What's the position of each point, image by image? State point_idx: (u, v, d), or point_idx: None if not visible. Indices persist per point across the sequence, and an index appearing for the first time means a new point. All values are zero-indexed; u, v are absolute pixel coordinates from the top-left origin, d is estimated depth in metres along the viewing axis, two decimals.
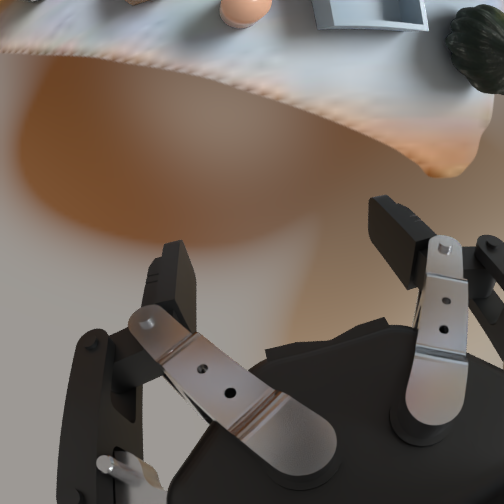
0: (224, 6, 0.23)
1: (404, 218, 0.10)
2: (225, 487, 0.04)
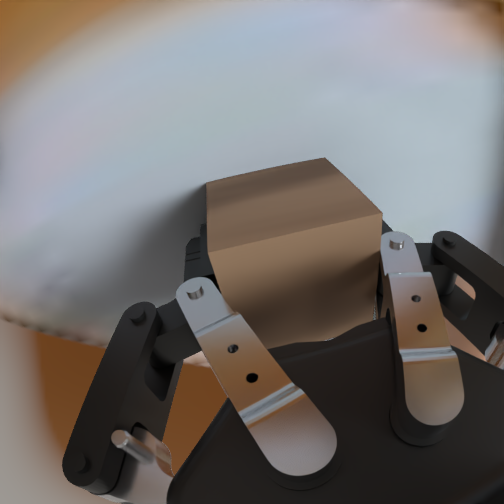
0: None
1: None
2: (225, 487, 0.04)
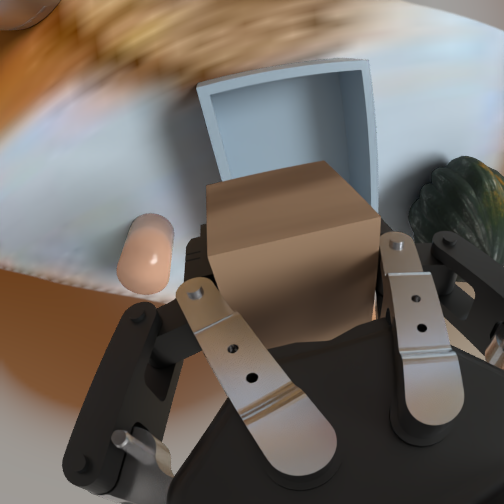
0: (122, 282, 0.27)
1: None
2: (225, 487, 0.04)
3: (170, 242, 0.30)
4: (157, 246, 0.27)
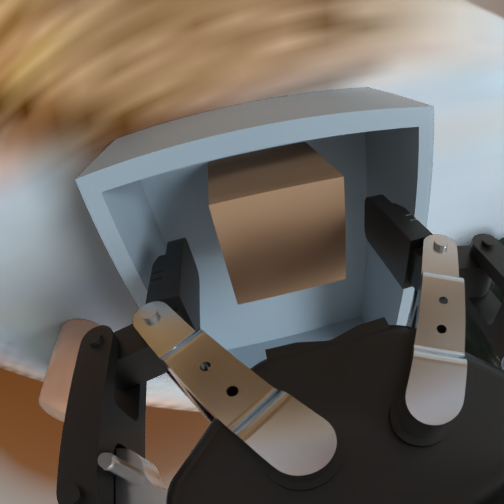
0: (51, 414, 0.17)
1: (399, 217, 0.10)
2: (225, 487, 0.04)
3: None
4: None
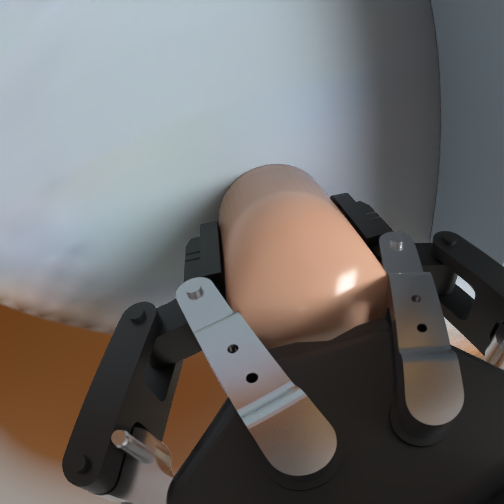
0: None
1: (360, 215, 0.11)
2: (225, 487, 0.04)
3: None
4: (366, 246, 0.09)
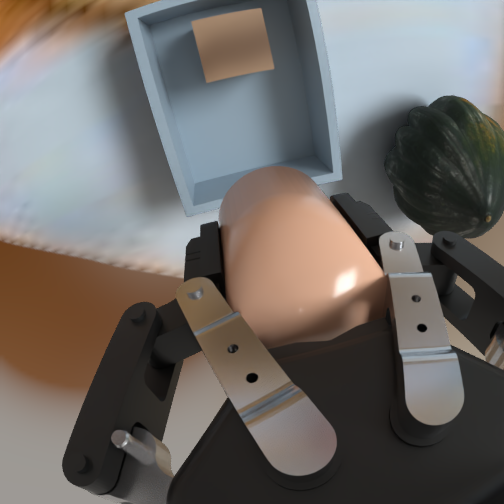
0: None
1: (359, 215, 0.11)
2: (225, 487, 0.04)
3: None
4: (366, 248, 0.09)
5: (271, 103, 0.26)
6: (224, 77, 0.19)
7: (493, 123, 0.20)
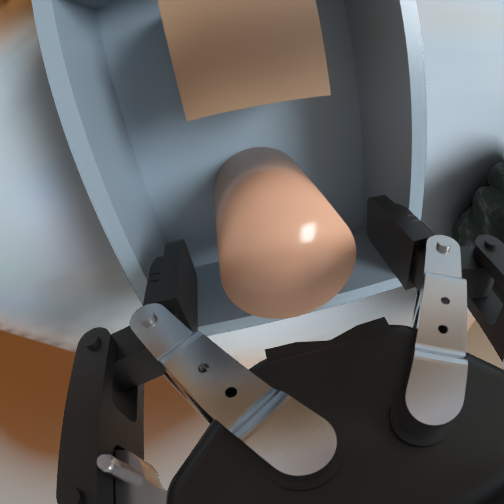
0: (228, 292, 0.11)
1: (402, 218, 0.10)
2: (225, 487, 0.04)
3: None
4: (327, 201, 0.11)
5: (305, 146, 0.16)
6: (225, 109, 0.09)
7: None
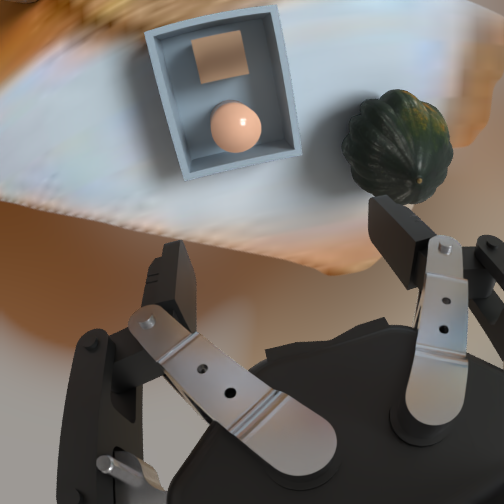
0: (214, 139, 0.29)
1: (404, 218, 0.10)
2: (225, 487, 0.04)
3: None
4: (249, 108, 0.29)
5: (250, 99, 0.34)
6: (213, 80, 0.28)
7: (430, 108, 0.29)
